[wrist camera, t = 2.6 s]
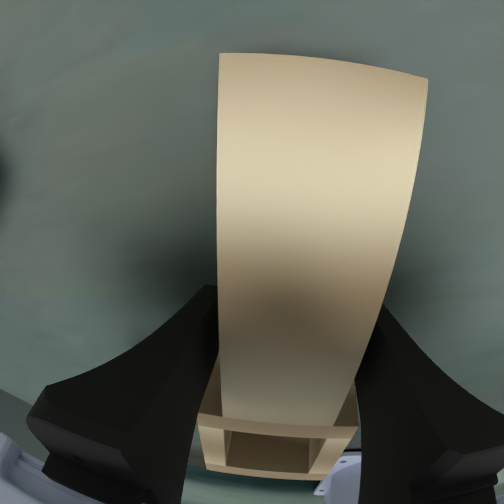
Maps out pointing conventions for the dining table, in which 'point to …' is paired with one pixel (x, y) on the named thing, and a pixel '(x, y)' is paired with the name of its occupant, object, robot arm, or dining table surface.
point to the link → (302, 252)
